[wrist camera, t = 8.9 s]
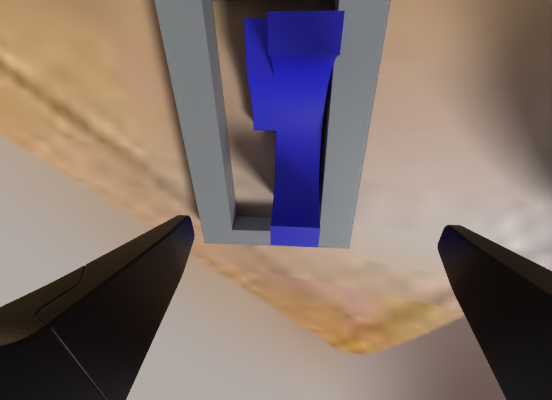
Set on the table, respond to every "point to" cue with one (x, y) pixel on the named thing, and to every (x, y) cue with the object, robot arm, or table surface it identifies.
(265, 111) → the blue curved bracket
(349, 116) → the gray rectangular open frame
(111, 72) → the table surface
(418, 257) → the table surface
